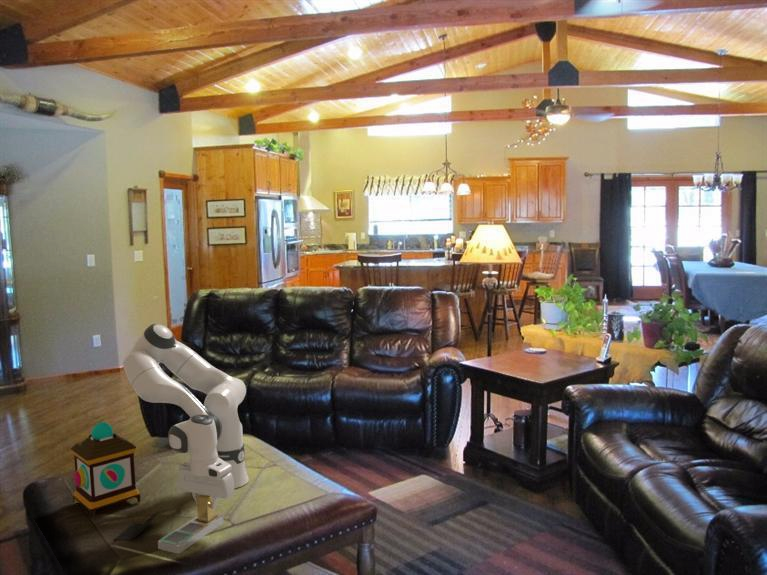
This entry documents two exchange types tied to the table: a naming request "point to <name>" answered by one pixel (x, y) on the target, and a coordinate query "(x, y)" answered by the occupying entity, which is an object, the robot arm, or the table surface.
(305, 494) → the table surface
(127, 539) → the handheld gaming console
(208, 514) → the tan rectangular block
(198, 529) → the white compartment tray
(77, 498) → the decorative lantern
